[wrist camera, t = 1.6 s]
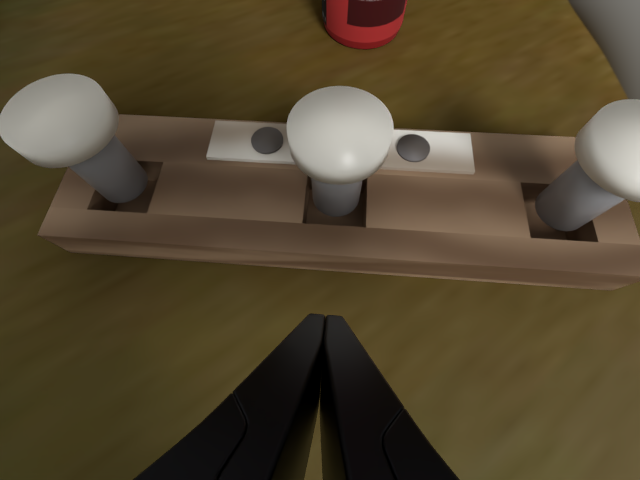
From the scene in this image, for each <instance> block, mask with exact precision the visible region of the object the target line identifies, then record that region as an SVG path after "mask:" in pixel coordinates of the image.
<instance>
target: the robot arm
mask: <svg viewBox="0 0 640 480" xmlns="http://www.w3.org/2000/svg"><path fill="white" fill-rule="evenodd" d="M320 387H321V391H320ZM319 399H320V430H321V452H322V473H323V480H460V479H459V478H458V477H457V476H456V475H455V474H454V472H453V471H452V470H451V469H450V468H449V466H448V465H447V464H446V463H445V461H444V460H443V459H442V458H441V456H440V455H439V454H438V453H437V452H436V450H435V449H434V448H433V447H432V445H431V444H430V443H429V441H428V440H427V439H426V437H425V436H424V434H423V433H422V432H421V430H420V429H419V428H418V426H417V425H416V423H415V422H414V421H413V419H412V418H411V416H410V415H409V413H408V412H407V410H406V409H404V406H403V405H402V403H401V402H400V400H399V399H398V397H397V396H396V394H395V393H394V391H393V390H392V388H391V387H390V386H389V384H388V383H387V381H386V380H385V378H384V377H383V375H382V374H381V372H380V371H379V369H378V368H377V366H376V365H375V364H374V362H373V361H372V359H371V358H370V356H369V355H368V353H367V352H366V350H365V349H364V347H363V346H362V344H361V343H360V342H359V340H358V339H357V337H356V336H355V334H354V333H353V331H352V330H351V328H350V327H349V325H348V324H347V323H346V321H345V320H344V318H343V317H342V316H335V315H327V316H326V320H325V316H324V315H322V314H309V315H308V316H307V317H306V318H305V319H304V320H303V321H302V322H301V323H300V324H299V325H298V326H297V327H296V328H295V329H294V330H293V331H292V332H291V333H290V334H289V335H288V336H287V337H286V338H285V339H284V340H283V341H282V342H281V343H280V344H279V345H278V346H277V347H276V348H275V349H274V350H273V351H272V352H271V353H270V354H269V355H268V356H267V357H266V358H265V359H264V360H263V361H262V362H261V363H260V364H259V365H258V366H257V367H256V368H255V369H254V371H253V372H252V373H251V374H250V375H249V376H248V377H247V378H246V379H245V380H244V381H243V382H242V383H241V384H240V385H239V386H238V387H237V388H236V389H235V390H234V391H233V394H230V395H229V396H228V397H227V398H226V399H225V400H224V401H223V402H222V403H221V404H220V405H219V406H218V407H217V408H216V409H215V410H214V411H213V412H212V413H210V414H209V415H208V416H207V417H206V418H205V419H204V420H203V421H202V422H201V423H200V424H199V425H198V426H197V427H195V428H194V429H193V430H192V431H191V432H190V433H188V434H187V435H186V436H185V437H184V438H183V439H182V440H180V441H179V442H178V443H177V444H176V445H174V446H173V447H172V448H171V449H170V450H168V451H167V452H166V453H165V454H164V455H162V456H161V457H160V458H159V459H157V460H156V461H155V462H154V463H153V464H151V465H150V466H149V467H148V468H147V469H145V470H144V471H143V472H142V473H141V474H139V475H138V476H137V477H136V478H134V479H133V480H304V477H305V472H306V467H307V462H308V457H309V452H310V447H311V443H312V438H313V433H314V428H315V423H316V418H317V413H318V407H319Z"/></svg>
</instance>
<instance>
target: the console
mask: <svg viewBox="0 0 640 480" xmlns="http://www.w3.org/2000/svg"><path fill="white" fill-rule="evenodd" d="M118 115H119V122H118V127H117V130H116V132H115V134H114V135H115V136H116V137H117V138H118V140H119V141H120V142H121V143H122V144H123V145H124V147H125V148H126V149H127V150H128V151H129V153H130V154H131V155H132V156H133V157H134V158H135V160H136V161H137V162H138V163H139V164H140V166H141V167H142V168H143V169H144V170H145V172H146V174H147V177H148V182H147V186H146V188H145V190H144V191H143V192H142V193H141V194H140V195H139V196H138V197H137V198H135V199H133V200H131V201H129V202H125V203H114V202H111V201H109V200H107V199H106V198H105V197H104V196H102V195H101V194H100V193H99V192H98V191H97V190H95V189H94V188H93V187H92V186H91V185H90V184H88V183H87V182H86V181H85V180H84V179H82V178H81V177H80V176H79V175H78V174H77V173H75V172H74V171H73V170H72V169H71V168H70V167H68V168H67V170H66V172H65V175H64V177H63V179H62V181H61V183H60V186H59V188H58V190H57V192H56V195H55V197H54V199H53V201H52V203H51V206H50V208H49V210H48V212H47V214H46V217H45V219H44V221H43V223H42V225H41V228H40V230H39V232H38V234H37V235H38V236H40V237H42V238H44V239H46V240H48V241H49V242H51V243H53V244H55V245H57V246H59V247H61V248H63V249H65V250H67V251H69V252H71V253H85V254H99V255H114V256H128V257H142V258H156V259H171V260H185V261H199V262H213V263H227V264H242V265H256V266H270V267H284V268H299V269H313V270H327V271H341V272H355V273H370V274H384V275H398V276H412V277H427V278H441V279H455V280H469V281H483V282H498V283H512V284H526V285H540V286H555V287H569V288H583V289H597V290H615V289H618V288H621V287H624V286H627V285H630V284H633V283H636V282H639V281H640V238H639V235H638V232H637V229H636V226H635V223H634V220H633V216H632V213H631V210H630V207H629V204H628V201H627V199H625V200H623V201H622V202H620V203H618V204H617V205H615V206H613V207H612V208H610V209H609V210H607V211H605V212H604V213H602V214H601V215H599V216H597V217H596V218H594V219H593V220H591V221H589V222H588V223H586V224H584V225H583V226H581V227H580V228H578V229H576V230H573V231H560V230H556V229H554V228H552V227H550V226H548V225H547V224H545V223H544V222H543V221H542V220H541V219H540V217H539V216H538V214H537V212H536V209H535V201H536V198H537V196H538V195H539V194H540V193H541V192H542V191H543V190H544V189H545V188H547V187H548V186H549V185H550V184H551V183H552V182H553V181H554V180H556V179H557V178H558V177H559V176H560V175H561V174H562V173H563V172H565V171H566V170H567V169H568V168H569V167H570V166H571V165H572V164H573V163H575V162H576V161H577V157H576V154H575V139H576V137H559V136H539V135H520V134H500V133H480V132H460V131H441V130H421V129H401V128H394V130H393V136H392V140H391V144H390V148H389V152H388V155H387V158H386V160H385V162H384V163H383V165H382V166H381V167H380V169H379V170H378V171H377V172H375V173H374V174H373V175H371V176H370V177H368V178H366V179H364V180H363V181H362V186H361V192H360V198H359V202H358V205H357V206H356V208H355V209H354V210H353V211H352V212H351V213H349V214H347V215H344V216H340V217H332V216H328V215H325V214H323V213H322V212H320V211H319V210H318V209H317V208H316V206H315V204H314V202H313V195H312V180H311V177H309V176H308V175H306V174H305V173H303V172H302V171H301V170H300V169H299V168H298V167H297V165H296V164H295V162H294V161H293V159H292V157H291V154H290V150H289V143H288V137H287V123H282V122H263V121H243V120H223V119H203V118H183V117H164V116H144V115H124V114H118Z"/></svg>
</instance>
